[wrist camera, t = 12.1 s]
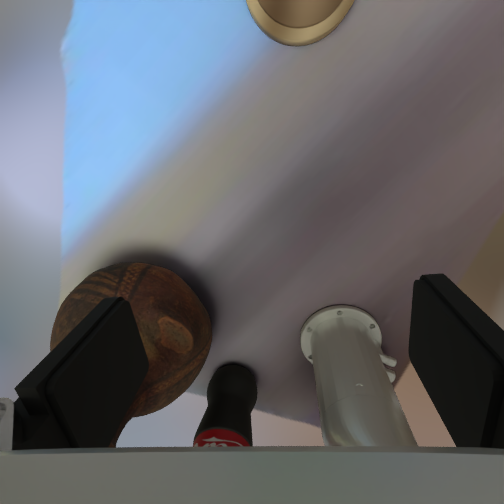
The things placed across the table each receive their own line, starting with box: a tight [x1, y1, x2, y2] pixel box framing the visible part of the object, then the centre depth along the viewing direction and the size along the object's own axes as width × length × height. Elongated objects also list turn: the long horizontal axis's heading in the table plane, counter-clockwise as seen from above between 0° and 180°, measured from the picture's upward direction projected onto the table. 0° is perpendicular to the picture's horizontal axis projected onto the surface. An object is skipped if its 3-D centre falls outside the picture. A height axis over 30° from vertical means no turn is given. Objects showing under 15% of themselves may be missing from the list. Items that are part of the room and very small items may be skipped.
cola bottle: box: [193, 365, 257, 447], centre depth 42 cm, size 8×8×30 cm
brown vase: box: [50, 262, 212, 448], centre depth 37 cm, size 22×22×30 cm
